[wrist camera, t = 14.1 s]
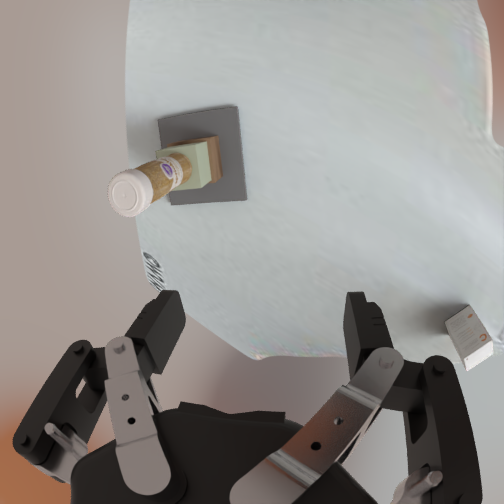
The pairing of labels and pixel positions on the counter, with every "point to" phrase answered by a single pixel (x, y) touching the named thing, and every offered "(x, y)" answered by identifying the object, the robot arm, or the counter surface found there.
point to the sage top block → (192, 163)
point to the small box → (469, 337)
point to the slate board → (230, 144)
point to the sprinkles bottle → (147, 183)
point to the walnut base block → (212, 153)
